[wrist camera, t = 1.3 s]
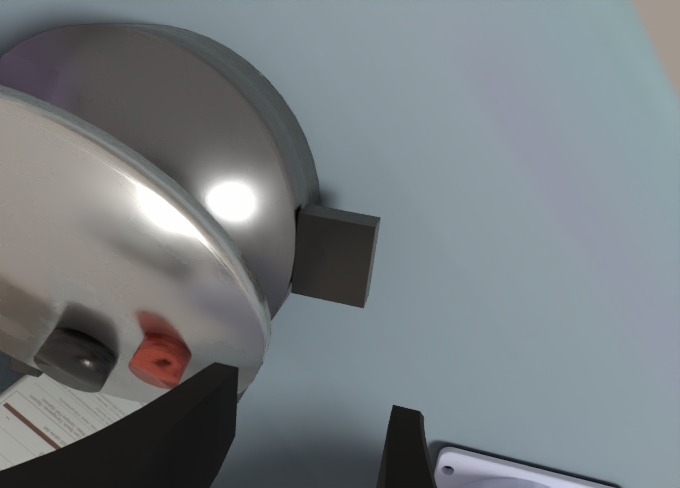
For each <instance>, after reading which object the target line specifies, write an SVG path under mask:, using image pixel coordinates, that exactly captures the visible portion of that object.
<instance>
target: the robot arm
mask: <svg viewBox="0 0 680 488" xmlns="http://www.w3.org/2000/svg"><path fill="white" fill-rule="evenodd" d="M238 373H239V368H238V367H234V366H230V365H226V364H222V363H218V362H214V363H212V364H211V365H209V366H207V367H206V368H204V369H203V370H201V371H199V372H198V373H196V374H195V375H193V376H191V377H190V378H188V379H187V380H185V381H184V382H182V383H181V384H179V385H177V386H176V387H174V388H173V389H171V390H170V391H168V392H166V393H165V394H163V395H161V396H160V397H158V398H156V399H155V400H153V401H152V402H150V403H148V404H147V405H145V406H143V407H142V408H140V409H138V410H136V411H134V412H132V413H131V414H129V415H127V416H125V417H123V418H122V419H120V420H118V421H116V422H114V423H113V424H111V425H109V426H107V427H105V428H103V429H101V430H99V431H97V432H95V433H93V434H91V435H89V436H87V437H84V438H82V439H80V440H78V441H75V442H73V443H71V444H69V445H67V446H64V447H62V448H60V449H57V450H55V451H52V452H50V453H47V454H44V455H42V456H39V457H36V458H34V459H31V460H28V461H26V462H23V463H20V464H18V465H15V466H12V467H10V468H7V469H4V470H1V471H0V488H209V487H210V486H211V484H212V482H213V481H214V479H215V477H216V476H217V474H218V472H219V470H220V468H221V466H222V463H223V461H224V459H225V457H226V455H227V453H228V450H229V448H230V446H231V444H232V441H233V439H234V437H235V430H236V411H237V392H238ZM444 466H450V467H452V468H451V469H447V468H445V467H444ZM377 488H614V487H610V486H606V485H602V484H598V483H594V482H590V481H586V480H582V479H578V478H574V477H570V476H566V475H562V474H558V473H554V472H550V471H546V470H542V469H538V468H534V467H530V466H526V465H522V464H518V463H514V462H510V461H506V460H502V459H498V458H494V457H490V456H486V455H482V454H478V453H474V452H470V451H466V450H462V449H458V448H454V447H445V448H443V449H442V450H441V451H440V452H439V456H438V460H437V464H436V468H435V472H434V474H433V470H432V467H431V463H430V459H429V454H428V449H427V444H426V438H425V431H424V416H423V415H422V414H421V412H420V411H417V410H412V409H408V408H404V407H400V406H396V405H393V407H392V411H391V416H390V420H389V424H388V430H387V435H386V440H385V445H384V451H383V456H382V461H381V467H380V472H379V477H378V482H377Z"/></svg>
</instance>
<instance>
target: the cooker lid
mask: <svg viewBox="0 0 680 488" xmlns="http://www.w3.org/2000/svg"><path fill="white" fill-rule="evenodd" d="M270 336H271V316H270V312H269V308H268V303H267V299H266V296H265V294H264V292H263V289H262V287H261V285H260V282H259V280H258V277H257V276H256V274H255V272H254V271H253V269H252V267H251V266H250V264H249V262H248V261H247V259H246V257H245V256H244V254H243V253H242V251H241V250H240V249H239V247H238V246H237V245H236V243H235V242H234V241H233V240H232V238H231V237H230V236H229V234H228V233H227V232H226V230H225V229H224V228H223V227H222V226H221V225H220V224H219V223H218V222H217V221H216V220H215V219H214V217H213V216H212V215H211V214H210V213H209V212H208V211H207V210H206V209H205V208H204V207H203V206H202V205H201V204H200V203H199V202H198V201H197V200H196V199H195V198H194V197H192V196H191V195H190V194H189V193H188V192H187V191H186V190H185V189H184V188H182V187H181V186H180V185H179V184H178V183H177V182H176V181H175V180H174V179H172V178H171V177H170V176H168V175H167V174H166V173H164V172H163V171H162V170H160V169H159V168H158V167H156V166H155V165H154V164H153V163H151V162H150V161H149V160H147V159H146V158H145V157H143V156H142V155H141V154H139V153H138V152H136V151H134V150H133V149H131V148H130V147H128V146H127V145H125V144H124V143H122V142H120V141H119V140H117V139H116V138H114V137H113V136H111V135H110V134H108V133H107V132H105V131H103V130H101V129H99V128H98V127H96V126H94V125H92V124H90V123H88V122H86V121H85V120H83V119H81V118H79V117H77V116H75V115H73V114H72V113H70V112H68V111H66V110H63V109H61V108H59V107H57V106H54V105H52V104H50V103H47V102H45V101H43V100H41V99H38V98H36V97H34V96H31V95H29V94H26V93H23V92H20V91H17V90H14V89H11V88H8V87H5V86H2V85H0V351H2V352H4V353H5V354H7V355H9V356H11V357H13V358H15V359H17V360H19V361H21V362H23V363H25V364H27V365H30V366H32V367H34V368H36V369H38V370H41V371H42V372H43V373H45V374H46V375H47V376H49V377H50V378H52V379H54V380H55V381H57V382H59V383H61V384H63V385H65V386H67V387H70V388H72V389H75V390H79V391H83V392H89V393H95V392H100V393H103V394H107V395H110V396H114V397H118V398H122V399H127V400H131V401H136V402H142V403H150V402H152V401H153V400H155V399H156V398H158V397H160V396H161V395H163V394H165V393H166V392H168V391H170V390H171V389H173V388H174V387H176V386H177V385H179V384H181V383H182V382H184V381H185V380H187V379H188V378H190V377H191V376H193V375H195V374H196V373H198V372H199V371H201V370H203V369H204V368H206V367H207V366H209V365H211V364H212V363H214V362H218V363H222V364H226V365H230V366H234V367H238V368H239V373H238V392H237V394H239V393H240V392H242V391H243V390H245V389H246V388H247V387H248V386H249V385H250V384H251V383H252V382H253V380H254V379H255V377H256V375H257V373H258V371H259V369H260V366H261V364H262V362H263V359H264V357H265V354H266V352H267V349H268V346H269V341H270Z"/></svg>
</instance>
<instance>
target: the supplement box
mask: <svg viewBox="0 0 680 488" xmlns="http://www.w3.org/2000/svg"><path fill="white" fill-rule="evenodd" d="M147 404H148V403H142V402H136V401H131V400H127V399H122V398H118V397H114V396H110V395H107V394H103V393H100V392H95V393H89V392H83V391H79V390H75V389H72V388H70V387H67V386H65V385H63V384H61V383H59V382H57V381H55V380H54V379H52V378H50V377H49V376H47V375H46V374H45V373H43V374H42V375H41V376H39V377H34V376H30V375H26V374H25V375H24V376H23V377H22V378H20V379H19V380H18V381H16V382H15V383H14V384H13V385H11V386H10V387H9V388H7V389H6V390H5V391H4V392H2V393H1V394H0V471H1V470H4V469H7V468H10V467H12V466H15V465H18V464H20V463H23V462H26V461H28V460H31V459H34V458H36V457H39V456H42V455H44V454H47V453H50V452H52V451H55V450H57V449H60V448H62V447H64V446H67V445H69V444H71V443H73V442H75V441H78V440H80V439H82V438H84V437H87V436H89V435H91V434H93V433H95V432H97V431H99V430H101V429H103V428H105V427H107V426H109V425H111V424H113V423H114V422H116V421H118V420H120V419H122V418H123V417H125V416H127V415H129V414H131V413H132V412H134V411H136V410H138V409H140V408H142V407H143V406H145V405H147Z"/></svg>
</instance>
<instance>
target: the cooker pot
mask: <svg viewBox="0 0 680 488" xmlns="http://www.w3.org/2000/svg"><path fill="white" fill-rule="evenodd" d="M0 85H2V86H5V87H8V88H11V89H14V90H17V91H20V92H23V93H26V94H29V95H31V96H34V97H36V98H38V99H41V100H43V101H45V102H47V103H50V104H52V105H54V106H57V107H59V108H61V109H63V110H66V111H68V112H70V113H72V114H73V115H75V116H77V117H79V118H81V119H83V120H85V121H86V122H88V123H90V124H92V125H94V126H96V127H98V128H99V129H101V130H103V131H105V132H107V133H108V134H110V135H111V136H113V137H114V138H116V139H117V140H119V141H120V142H122V143H124V144H125V145H127V146H128V147H130V148H131V149H133V150H134V151H136V152H138V153H139V154H141V155H142V156H143V157H145V158H146V159H147V160H149V161H150V162H151V163H153V164H154V165H155V166H156V167H158V168H159V169H160V170H162V171H163V172H164V173H166V174H167V175H168V176H170V177H171V178H172V179H174V180H175V181H176V182H177V183H178V184H179V185H180V186H181V187H182V188H184V189H185V190H186V191H187V192H188V193H189V194H190V195H191V196H192V197H194V198H195V199H196V200H197V201H198V202H199V203H200V204H201V205H202V206H203V207H204V208H205V209H206V210H207V211H208V212H209V213H210V214H211V215H212V216H213V217H214V219H215V220H216V221H217V222H218V223H219V224H220V225H221V226H222V227H223V228H224V229H225V230H226V232H227V233H228V234H229V236H230V237H231V238H232V240H233V241H234V242H235V243H236V245H237V246H238V247H239V249H240V250H241V251H242V253H243V254H244V256H245V257H246V259H247V261H248V262H249V264H250V266H251V267H252V269H253V271H254V272H255V274H256V276H257V277H258V280H259V282H260V285H261V287H262V289H263V292H264V294H265V296H266V299H267V303H268V308H269V312H270V316H271V320H272V319H273V317H274V316H275V315H276V313H277V312H278V310H279V309H280V307H281V306H282V304H283V303H284V301H285V300H286V299H287V297H288V296H289V294H290V293H295V294H300V295H304V296H309V297H314V298H318V299H323V300H328V301H332V302H337V303H342V304H346V305H351V306H356V307H360V308H364V306H365V303H366V301H367V298H368V295H369V289H370V283H371V276H372V270H373V263H374V257H375V250H376V244H377V237H378V231H379V224H380V217H375V216H370V215H364V214H359V213H354V212H348V211H343V210H338V209H332V208H327V207H321V206H320V193H319V182H318V177H317V172H316V168H315V163H314V159H313V156H312V153H311V151H310V148H309V145H308V142H307V139H306V137H305V135H304V133H303V131H302V129H301V127H300V125H299V123H298V121H297V119H296V117H295V115H294V114H293V112H292V111H291V109H290V108H289V106H288V105H287V103H286V102H285V100H284V99H283V97H282V96H281V95H280V94H279V92H278V91H277V90H276V89H275V88H274V87H273V85H272V84H271V83H270V82H269V81H268V80H267V78H266V77H264V76H263V75H262V74H261V73H260V72H259V71H258V70H257V69H256V68H255V67H254V66H252V65H251V64H250V63H249V62H248V61H246V60H245V59H244V58H242V57H241V56H239V55H238V54H237V53H235V52H234V51H232V50H231V49H229V48H227V47H226V46H224V45H222V44H220V43H218V42H216V41H214V40H212V39H211V38H208V37H206V36H203V35H200V34H197V33H195V32H192V31H189V30H185V29H181V28H176V27H171V26H166V25H150V24H84V25H73V26H63V27H59V28H55V29H52V30H48V31H44V32H41V33H39V34H37V35H35V36H32V37H30V38H28V39H26V40H24V41H22V42H20V43H19V44H18V45H16V46H15V47H13V48H12V49H11V50H9V51H8V52H6V53H5V54H4V55H3V56H2V57H1V58H0ZM10 359H11V366H12V371H15V372H19V373H22V374H26V375H30V376H34V377H39V376H41V375H42V374H43V372H42V371H41V370H38V369H36V368H34V367H32V366H30V365H27V364H25V363H23V362H21V361H19V360H17V359H15V358H13V357H11V356H10ZM262 364H263V362H262ZM262 364H261V365H262ZM260 367H261V366H260ZM247 388H248V387H247ZM247 388H246V389H247ZM246 389H245V390H243V391H242V392H240V393H239V394H237V404H238V402H239V400H240V399H241V397H242V396H243V394H244V392H245V391H246Z"/></svg>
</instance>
